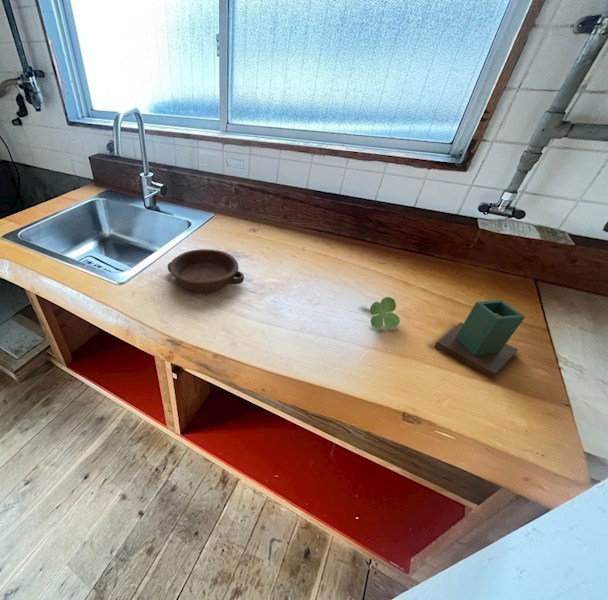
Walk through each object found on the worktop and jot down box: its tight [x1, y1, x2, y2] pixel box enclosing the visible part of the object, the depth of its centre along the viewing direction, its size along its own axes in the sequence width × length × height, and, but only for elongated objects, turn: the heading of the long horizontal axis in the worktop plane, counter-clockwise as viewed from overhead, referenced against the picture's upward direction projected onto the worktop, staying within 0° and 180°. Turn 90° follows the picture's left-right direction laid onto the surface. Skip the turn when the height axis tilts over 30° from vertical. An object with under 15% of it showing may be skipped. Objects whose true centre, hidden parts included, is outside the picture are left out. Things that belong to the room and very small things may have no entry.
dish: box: [166, 248, 245, 293], centre depth 86 cm, size 18×22×5 cm
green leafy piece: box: [364, 296, 401, 330], centre depth 72 cm, size 7×8×6 cm
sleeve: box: [456, 299, 526, 355], centre depth 60 cm, size 5×5×9 cm
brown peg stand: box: [433, 313, 519, 379], centre depth 61 cm, size 10×10×9 cm
